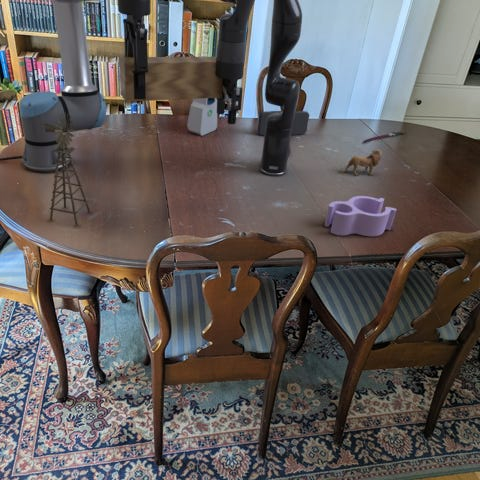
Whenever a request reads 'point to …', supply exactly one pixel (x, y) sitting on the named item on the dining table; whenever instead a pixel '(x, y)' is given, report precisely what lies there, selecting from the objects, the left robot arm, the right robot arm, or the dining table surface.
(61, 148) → the miniature windmill
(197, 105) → the electronic device
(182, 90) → the bar
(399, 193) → the dining table surface
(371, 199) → the clip
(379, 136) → the sword
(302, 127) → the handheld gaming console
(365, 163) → the lion figurine
